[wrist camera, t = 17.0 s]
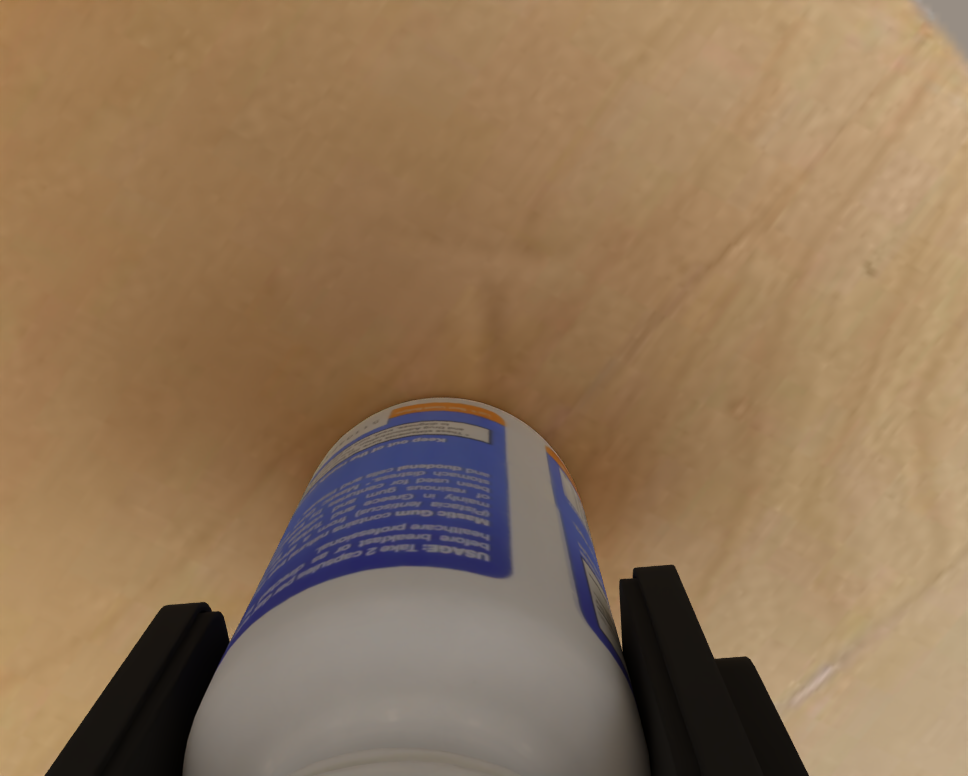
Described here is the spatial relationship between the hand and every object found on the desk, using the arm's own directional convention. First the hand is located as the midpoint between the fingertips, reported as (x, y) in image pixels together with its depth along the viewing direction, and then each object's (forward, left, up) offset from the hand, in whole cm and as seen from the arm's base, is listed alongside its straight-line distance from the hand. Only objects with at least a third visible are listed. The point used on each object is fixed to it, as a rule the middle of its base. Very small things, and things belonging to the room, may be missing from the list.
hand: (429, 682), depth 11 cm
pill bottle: (0, 0, -5) cm, 5 cm away
